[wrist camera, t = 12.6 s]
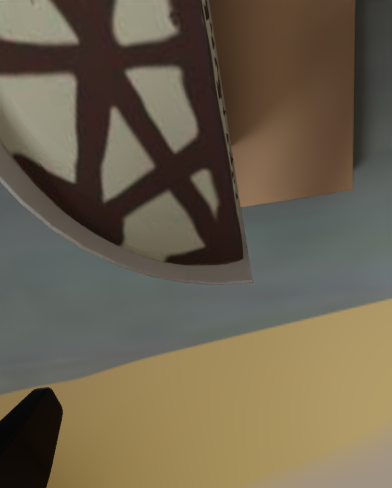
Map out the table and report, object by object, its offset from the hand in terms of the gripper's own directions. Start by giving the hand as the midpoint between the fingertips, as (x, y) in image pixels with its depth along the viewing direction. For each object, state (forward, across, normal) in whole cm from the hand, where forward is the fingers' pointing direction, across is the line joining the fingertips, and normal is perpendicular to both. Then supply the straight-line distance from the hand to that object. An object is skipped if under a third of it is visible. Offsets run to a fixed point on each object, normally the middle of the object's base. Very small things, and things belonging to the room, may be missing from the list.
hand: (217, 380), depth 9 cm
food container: (+11, +2, -8) cm, 14 cm away
